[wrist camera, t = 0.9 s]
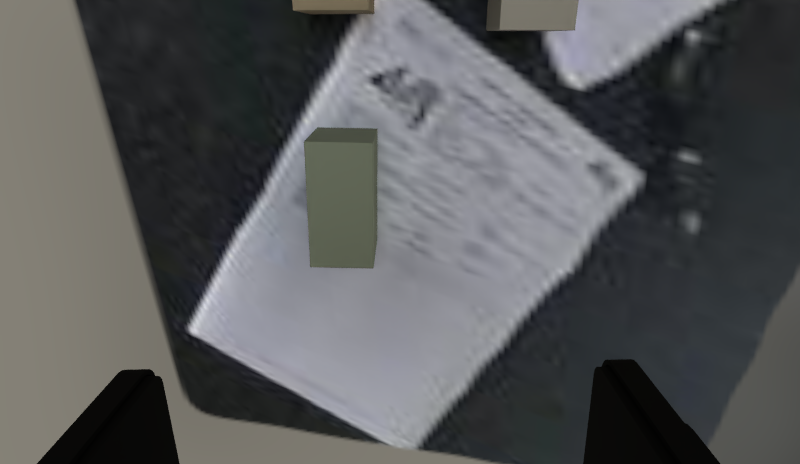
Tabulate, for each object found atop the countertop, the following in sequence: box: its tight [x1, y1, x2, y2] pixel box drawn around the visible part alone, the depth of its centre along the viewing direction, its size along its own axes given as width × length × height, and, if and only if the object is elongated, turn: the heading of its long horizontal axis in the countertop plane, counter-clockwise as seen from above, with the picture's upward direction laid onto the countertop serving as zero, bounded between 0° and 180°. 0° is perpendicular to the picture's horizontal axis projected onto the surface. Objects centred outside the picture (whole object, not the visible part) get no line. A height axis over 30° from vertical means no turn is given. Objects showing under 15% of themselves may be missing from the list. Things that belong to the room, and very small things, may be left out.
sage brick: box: [304, 127, 377, 268], centre depth 33 cm, size 8×4×5 cm, turn 179°
